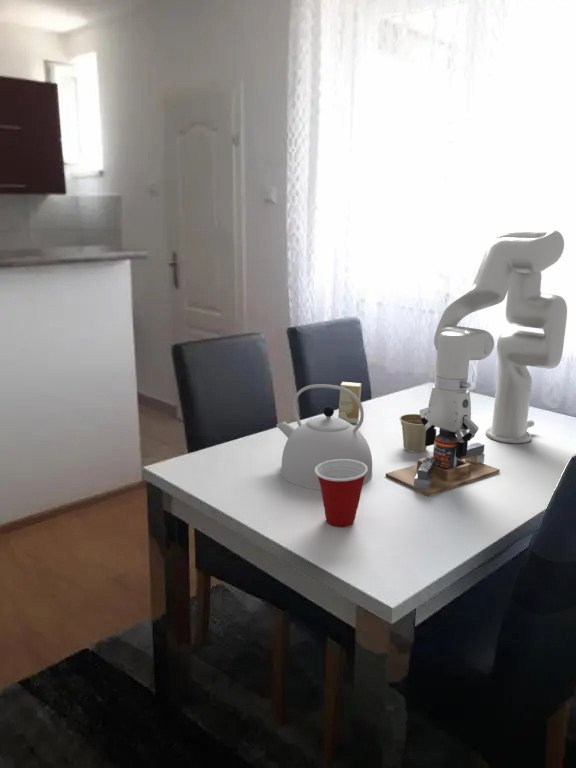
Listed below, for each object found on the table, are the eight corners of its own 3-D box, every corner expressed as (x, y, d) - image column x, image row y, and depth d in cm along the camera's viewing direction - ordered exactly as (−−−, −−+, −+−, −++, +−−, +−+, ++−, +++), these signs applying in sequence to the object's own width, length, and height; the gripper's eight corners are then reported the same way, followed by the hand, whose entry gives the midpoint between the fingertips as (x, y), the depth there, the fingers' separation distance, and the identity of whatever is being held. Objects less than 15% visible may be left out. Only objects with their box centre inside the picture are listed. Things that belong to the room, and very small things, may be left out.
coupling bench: (455, 455, 168) (456, 444, 167) (499, 472, 157) (500, 460, 156) (385, 476, 153) (386, 463, 153) (428, 496, 142) (429, 483, 142)
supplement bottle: (429, 473, 153) (433, 430, 151) (434, 465, 159) (437, 423, 156) (454, 477, 151) (458, 433, 148) (458, 469, 156) (461, 426, 154)
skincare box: (337, 422, 195) (339, 384, 192) (339, 418, 199) (341, 381, 196) (358, 424, 194) (360, 386, 191) (359, 420, 198) (361, 382, 195)
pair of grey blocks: (473, 458, 164) (475, 441, 163) (499, 467, 158) (500, 450, 157) (398, 481, 149) (400, 463, 148) (423, 492, 142) (425, 473, 141)
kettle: (258, 480, 150) (258, 389, 144) (291, 450, 171) (292, 369, 165) (359, 497, 142) (364, 401, 136) (381, 463, 162) (386, 379, 157)
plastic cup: (310, 510, 134) (311, 457, 132) (359, 509, 135) (362, 457, 132) (316, 534, 124) (318, 477, 121) (370, 532, 125) (373, 476, 122)
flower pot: (432, 456, 168) (435, 425, 166) (397, 453, 170) (399, 422, 167) (431, 444, 177) (434, 415, 175) (398, 441, 178) (400, 412, 176)
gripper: (490, 389, 145) (483, 458, 149) (433, 374, 158) (428, 438, 163) (469, 393, 141) (463, 464, 145) (413, 378, 154) (408, 443, 158)
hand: (445, 450), depth 154 cm, fingers open, 9 cm apart
